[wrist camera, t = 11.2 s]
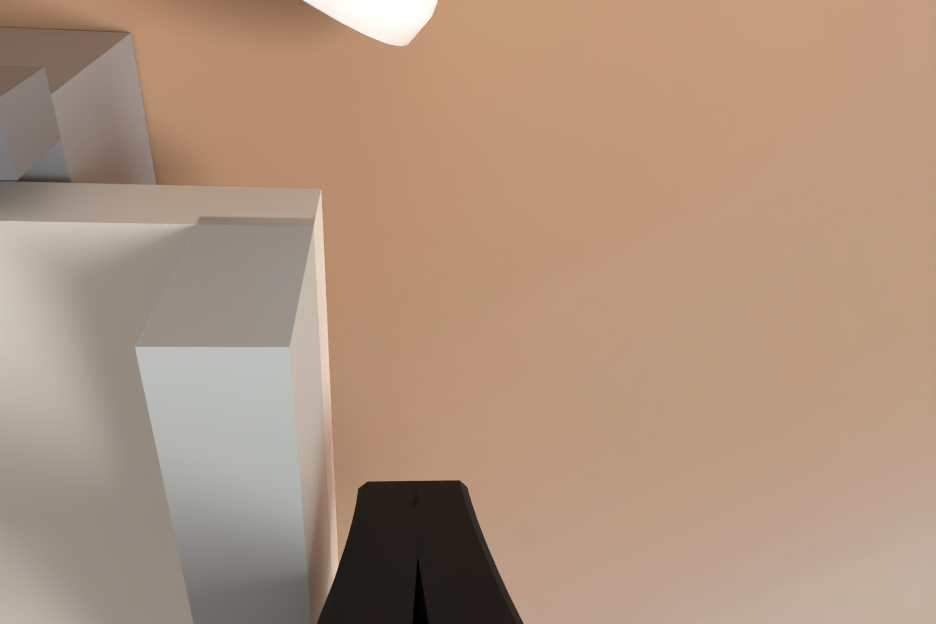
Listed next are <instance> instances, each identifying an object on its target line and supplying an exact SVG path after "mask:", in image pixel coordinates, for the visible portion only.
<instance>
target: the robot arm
mask: <svg viewBox="0 0 936 624" xmlns="http://www.w3.org/2000/svg"><path fill="white" fill-rule="evenodd" d="M317 624H523V622H522V620H521V618H520V616H519V614H518V612H517V610H516V608H515V606H514V604H513V602H512V600H511V598H510V596H509V594H508V591H507V589H506V587H505V585H504V583H503V581H502V578H501V576H500V574H499V572H498V570H497V567H496V565H495V563H494V560H493V558H492V556H491V553H490V551H489V549H488V546H487V544H486V541H485V539H484V536H483V534H482V531H481V528H480V526H479V523H478V520H477V517H476V514H475V511H474V508H473V505H472V502H471V499H470V496H469V492H468V488H467V487H466V486H465V485H464V484H463V483H462V482H461V481H459V480H455V481H380V482H367V483H365V484H364V485H363V486H361V487H360V488H358V495H357V502H356V507H355V512H354V516H353V520H352V524H351V528H350V532H349V535H348V539H347V542H346V545H345V549H344V552H343V555H342V557H341V560H340V563H339V566H338V569H337V572H336V575H335V578H334V581H333V583H332V586H331V588H330V591H329V594H328V596H327V599H326V601H325V604H324V606H323V609H322V611H321V614H320V616H319V619H318V621H317Z"/></svg>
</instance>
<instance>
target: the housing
mask: <svg viewBox="0 0 936 624" xmlns="http://www.w3.org/2000/svg"><path fill="white" fill-rule="evenodd" d="M0 181H14V182H56V183H99V184H141V185H157V183H156V177H155V171H154V166H153V160H152V154H151V148H150V142H149V136H148V130H147V124H146V118H145V113H144V107H143V101H142V95H141V89H140V83H139V77H138V71H137V65H136V59H135V54H134V48H133V42H132V36H131V33H125V32H102V31H79V30H56V29H33V28H10V27H0Z"/></svg>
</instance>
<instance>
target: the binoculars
mask: <svg viewBox="0 0 936 624" xmlns="http://www.w3.org/2000/svg"><path fill="white" fill-rule="evenodd" d="M302 1H304V2H305V3H307V4H309V5H310V6H312V7H314V8H316V9H317V10H319V11H321V12H322V13H324V14H326V15H327V16H329V17H331V18H333V19H334V20H336V21H338V22H340V23H342V24H344V25H346V26H348V27H350V28H352V29H354V30H356V31H358V32H360V33H362V34H365V35H367V36H369V37H372V38H374V39H377V40H379V41H382V42H384V43H387V44H392V45H396V46H404V45H408V44H409V42H410V41H411V40H412V39H413V38H414V37H415V36H416V34H417V33H418V32H419V31H420V30H421V29H422V27H423V26H424V25H425V24H426V23H427V22H428V20H429V19H430V18H431V17H432V14H433V12H434V9H435V6H436V4H437V1H438V0H302Z"/></svg>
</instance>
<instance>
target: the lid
mask: <svg viewBox="0 0 936 624" xmlns="http://www.w3.org/2000/svg"><path fill="white" fill-rule="evenodd" d="M337 569H338V549H337V527H336V505H335V483H334V461H333V439H332V416H331V394H330V372H329V350H328V328H327V306H326V284H325V262H324V240H323V218H322V196H321V189H311V188H269V187H226V186H184V185H141V184H99V183H56V182H14V181H0V624H317V621H318V619H319V616H320V614H321V611H322V609H323V606H324V604H325V601H326V599H327V596H328V594H329V591H330V588H331V586H332V583H333V581H334V578H335V575H336V572H337Z"/></svg>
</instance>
